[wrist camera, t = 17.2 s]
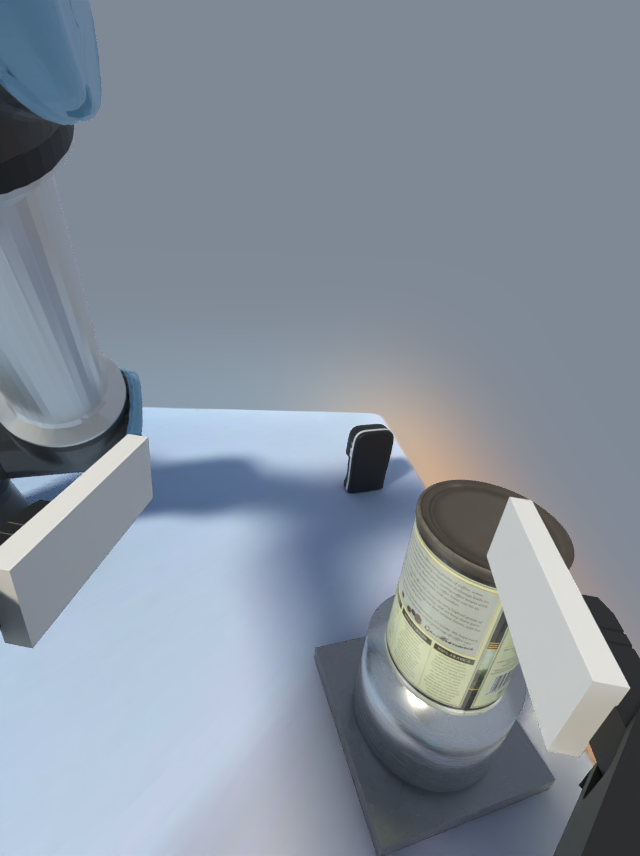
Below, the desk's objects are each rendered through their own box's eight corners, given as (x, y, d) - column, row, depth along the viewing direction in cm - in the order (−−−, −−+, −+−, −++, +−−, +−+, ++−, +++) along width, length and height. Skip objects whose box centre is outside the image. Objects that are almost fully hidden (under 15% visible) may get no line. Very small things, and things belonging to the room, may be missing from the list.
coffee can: (407, 584, 42) (441, 463, 36) (516, 639, 38) (578, 513, 31) (361, 667, 34) (395, 529, 27) (494, 749, 30) (571, 609, 23)
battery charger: (373, 477, 76) (385, 419, 71) (384, 489, 73) (397, 430, 68) (338, 481, 73) (347, 422, 68) (347, 495, 70) (357, 434, 65)
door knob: (314, 657, 44) (324, 592, 40) (445, 627, 50) (467, 567, 45) (378, 858, 31) (404, 794, 27) (548, 788, 36) (594, 725, 32)
